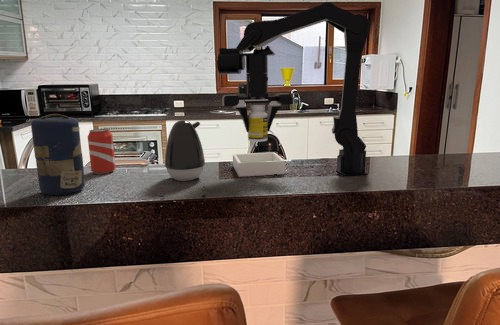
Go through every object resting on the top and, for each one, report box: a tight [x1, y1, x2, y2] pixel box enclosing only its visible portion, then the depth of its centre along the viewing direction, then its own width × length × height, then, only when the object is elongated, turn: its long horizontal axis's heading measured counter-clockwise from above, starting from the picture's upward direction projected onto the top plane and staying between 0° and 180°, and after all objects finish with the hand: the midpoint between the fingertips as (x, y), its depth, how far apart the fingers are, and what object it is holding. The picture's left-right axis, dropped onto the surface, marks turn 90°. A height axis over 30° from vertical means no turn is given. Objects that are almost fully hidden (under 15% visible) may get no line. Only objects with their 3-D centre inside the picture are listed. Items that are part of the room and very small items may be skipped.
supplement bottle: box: [247, 104, 269, 143], centre depth 99 cm, size 5×5×10 cm
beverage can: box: [87, 128, 116, 175], centre depth 101 cm, size 6×6×12 cm
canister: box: [30, 113, 86, 196], centre depth 82 cm, size 10×10×18 cm
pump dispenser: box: [164, 119, 206, 182], centre depth 93 cm, size 10×10×15 cm
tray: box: [232, 151, 286, 177], centre depth 102 cm, size 13×13×4 cm
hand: (257, 131), depth 100 cm, fingers closed on supplement bottle, 5 cm apart
